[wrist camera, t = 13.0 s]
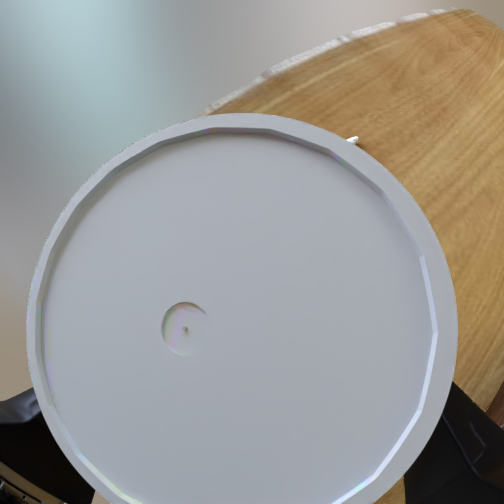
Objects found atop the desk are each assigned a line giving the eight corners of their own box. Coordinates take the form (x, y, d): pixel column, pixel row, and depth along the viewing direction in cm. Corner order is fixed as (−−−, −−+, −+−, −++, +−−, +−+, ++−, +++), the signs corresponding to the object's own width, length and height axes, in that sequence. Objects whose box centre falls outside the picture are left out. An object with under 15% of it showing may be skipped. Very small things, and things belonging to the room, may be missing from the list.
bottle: (275, 267, 18) (193, 62, 4) (359, 330, 16) (541, 260, 2) (208, 347, 17) (-13, 322, 4) (289, 414, 15) (229, 603, 1)
